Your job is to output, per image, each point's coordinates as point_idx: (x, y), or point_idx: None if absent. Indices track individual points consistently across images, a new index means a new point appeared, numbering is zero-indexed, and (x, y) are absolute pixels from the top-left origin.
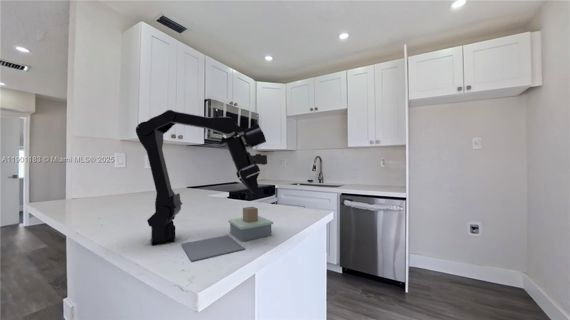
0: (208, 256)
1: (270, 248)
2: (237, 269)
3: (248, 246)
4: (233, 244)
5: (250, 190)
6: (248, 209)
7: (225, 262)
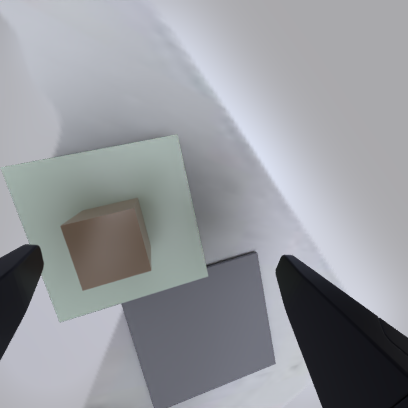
0: (269, 334)
1: (269, 185)
2: (335, 275)
3: (232, 238)
4: (218, 280)
5: (24, 308)
6: (147, 264)
7: None
